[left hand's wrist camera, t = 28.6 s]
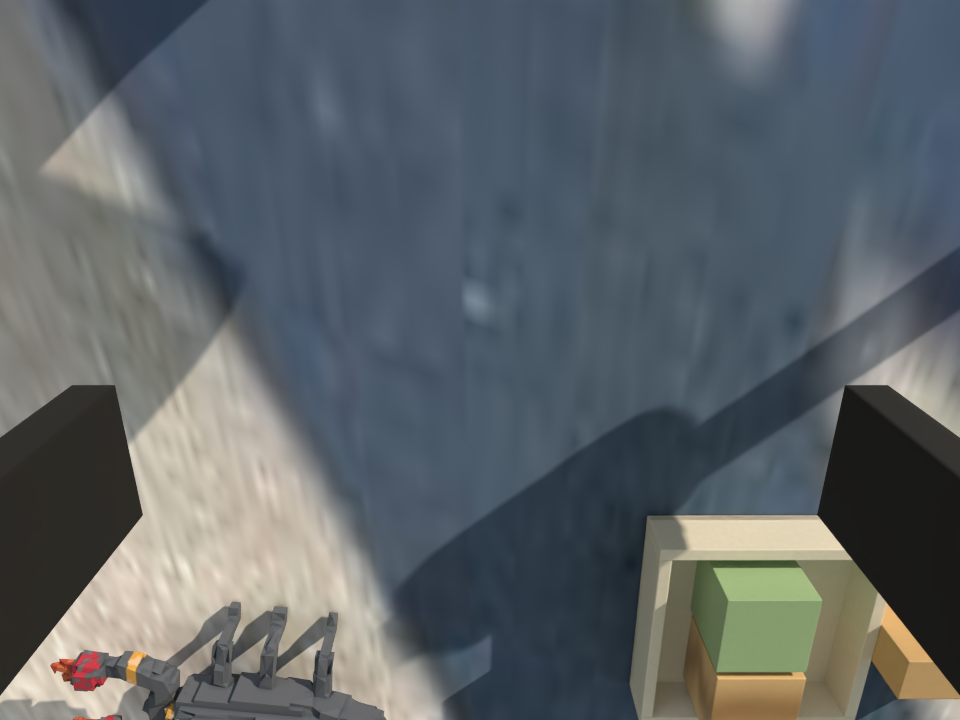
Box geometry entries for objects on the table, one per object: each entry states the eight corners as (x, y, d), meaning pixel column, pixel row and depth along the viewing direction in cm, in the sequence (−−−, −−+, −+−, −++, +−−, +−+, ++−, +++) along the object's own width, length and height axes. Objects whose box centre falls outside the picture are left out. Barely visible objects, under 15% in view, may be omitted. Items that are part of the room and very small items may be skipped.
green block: (699, 541, 45) (728, 600, 40) (783, 541, 45) (823, 600, 40) (690, 608, 47) (716, 672, 42) (770, 608, 47) (806, 672, 42)
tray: (647, 515, 45) (673, 583, 39) (1084, 514, 45) (1180, 582, 39) (629, 683, 50) (650, 767, 44) (1019, 683, 50) (1094, 766, 44)
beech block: (691, 614, 47) (717, 678, 42) (771, 614, 47) (806, 678, 42) (682, 675, 49) (706, 743, 44) (759, 675, 49) (791, 743, 44)
